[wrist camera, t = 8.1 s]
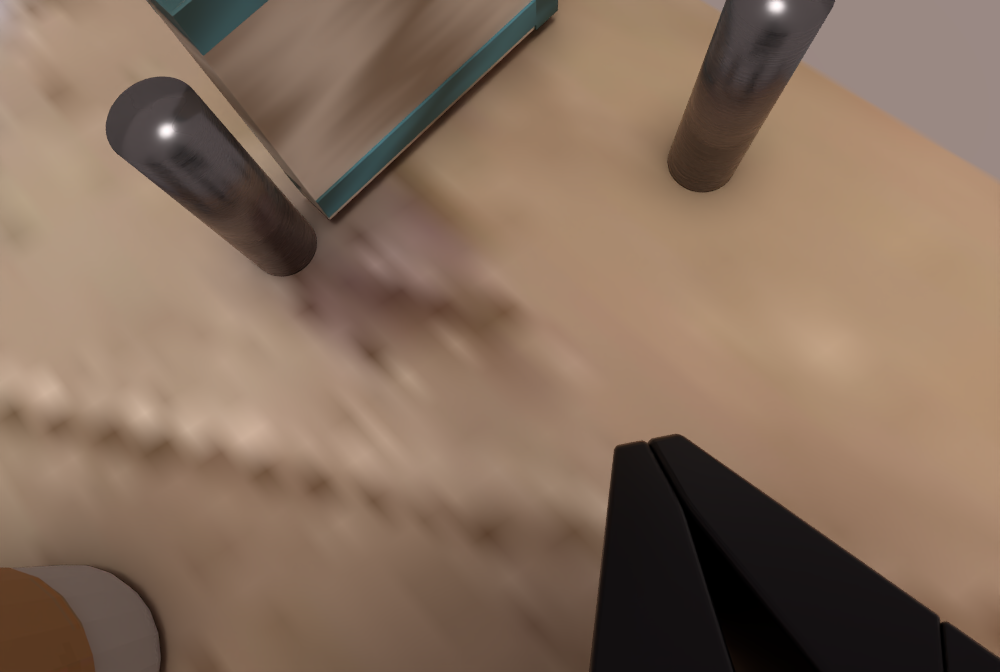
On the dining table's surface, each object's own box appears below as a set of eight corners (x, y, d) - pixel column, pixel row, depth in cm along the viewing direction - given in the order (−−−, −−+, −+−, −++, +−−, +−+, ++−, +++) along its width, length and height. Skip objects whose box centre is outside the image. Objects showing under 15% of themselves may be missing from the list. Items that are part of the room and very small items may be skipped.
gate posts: (255, 281, 23) (107, 172, 15) (250, 222, 23) (104, 87, 15) (742, 184, 22) (849, 20, 15) (724, 126, 23) (817, -60, 15)
